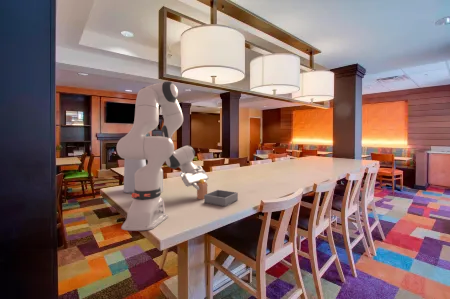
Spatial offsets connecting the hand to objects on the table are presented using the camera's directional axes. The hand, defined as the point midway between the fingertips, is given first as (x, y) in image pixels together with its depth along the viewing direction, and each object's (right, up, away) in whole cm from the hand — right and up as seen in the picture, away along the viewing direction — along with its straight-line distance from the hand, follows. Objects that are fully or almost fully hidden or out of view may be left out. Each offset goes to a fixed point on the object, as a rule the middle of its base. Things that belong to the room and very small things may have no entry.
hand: (203, 188), depth 142 cm
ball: (-1, +4, +1) cm, 4 cm away
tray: (+11, -7, -7) cm, 15 cm away
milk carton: (-34, -6, +17) cm, 38 cm away
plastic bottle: (-49, -6, +22) cm, 54 cm away
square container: (0, -6, +1) cm, 6 cm away
